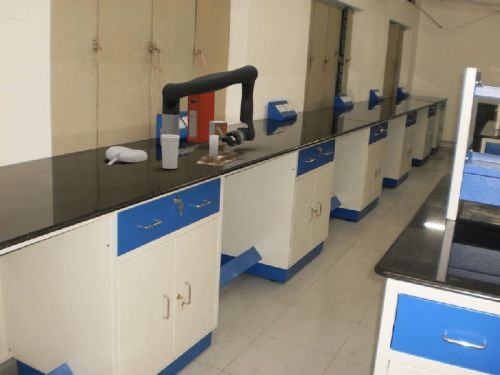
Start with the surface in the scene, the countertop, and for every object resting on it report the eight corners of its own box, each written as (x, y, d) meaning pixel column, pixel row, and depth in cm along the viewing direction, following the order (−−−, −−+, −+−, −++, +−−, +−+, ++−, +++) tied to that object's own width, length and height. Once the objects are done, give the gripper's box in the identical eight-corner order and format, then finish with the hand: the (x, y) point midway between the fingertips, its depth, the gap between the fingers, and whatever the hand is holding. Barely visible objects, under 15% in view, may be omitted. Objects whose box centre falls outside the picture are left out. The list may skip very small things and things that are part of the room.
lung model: (151, 158, 261) (127, 173, 238) (118, 155, 265) (91, 170, 242) (151, 144, 259) (126, 158, 236) (117, 142, 263) (90, 155, 240)
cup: (170, 170, 235) (171, 137, 232) (156, 168, 239) (156, 135, 236) (182, 168, 242) (183, 135, 239) (168, 165, 246) (169, 133, 243)
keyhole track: (196, 163, 253) (196, 157, 252) (215, 156, 273) (215, 150, 272) (220, 166, 249) (221, 160, 248) (237, 158, 269) (238, 153, 268)
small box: (214, 146, 301) (214, 122, 298) (208, 144, 306) (209, 121, 303) (226, 145, 306) (227, 122, 303) (221, 143, 311) (221, 120, 308)
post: (207, 161, 254) (208, 135, 252) (211, 160, 258) (211, 134, 255) (215, 162, 253) (216, 136, 250) (218, 160, 257) (219, 135, 254)
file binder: (186, 141, 312) (187, 84, 304) (201, 138, 327) (203, 83, 319) (199, 143, 308) (200, 85, 301) (213, 139, 324) (215, 84, 316)
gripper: (221, 129, 279) (208, 133, 265) (247, 132, 275) (236, 136, 260) (220, 144, 281) (208, 148, 266) (247, 146, 277) (235, 151, 262)
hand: (221, 142), depth 263 cm, fingers open, 8 cm apart
